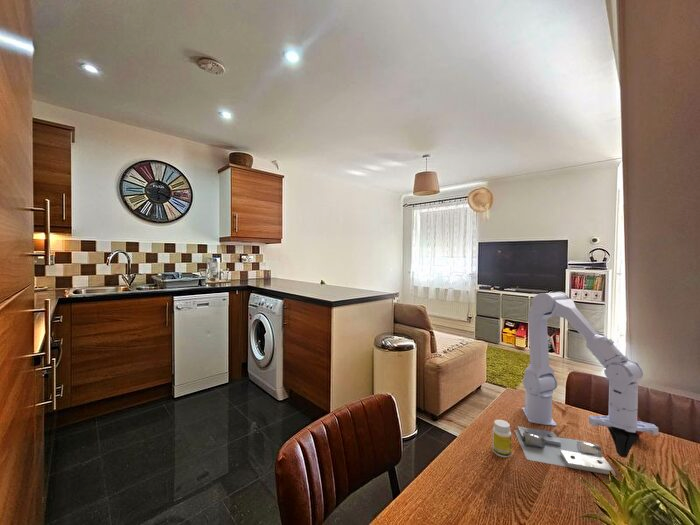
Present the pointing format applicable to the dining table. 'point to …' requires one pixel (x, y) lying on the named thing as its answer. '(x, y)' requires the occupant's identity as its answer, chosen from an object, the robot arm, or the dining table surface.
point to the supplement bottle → (501, 438)
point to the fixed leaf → (538, 437)
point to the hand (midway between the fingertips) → (621, 454)
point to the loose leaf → (587, 458)
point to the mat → (549, 451)
